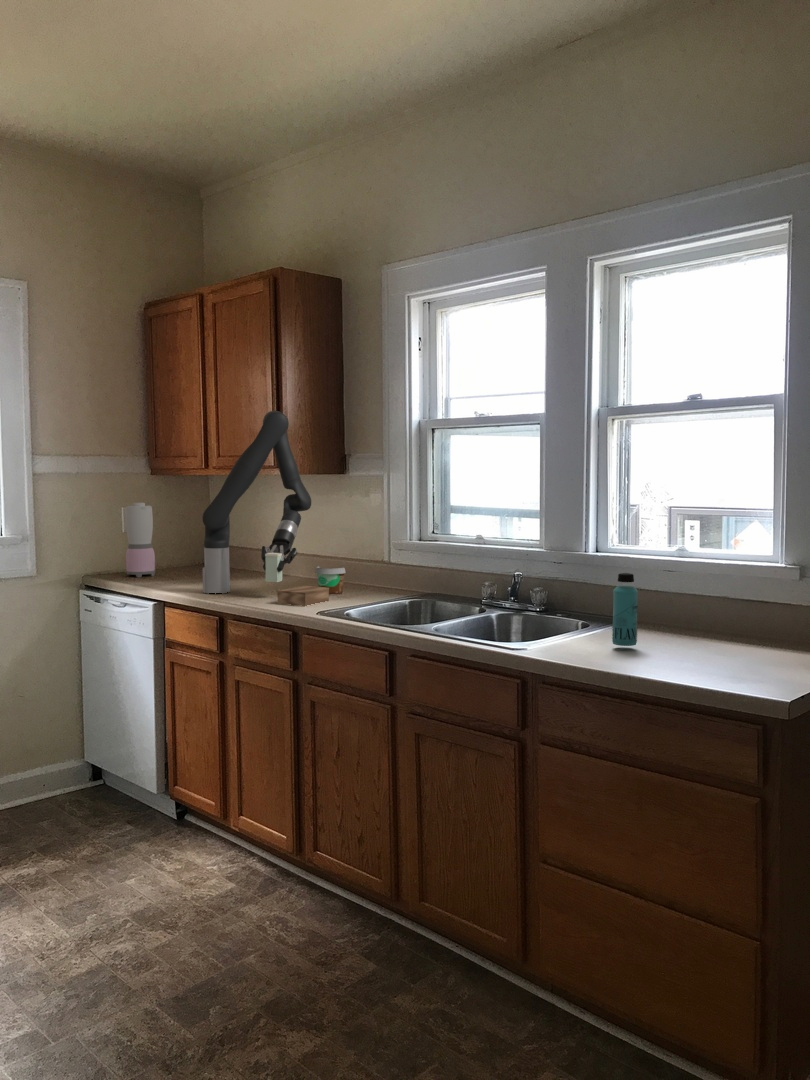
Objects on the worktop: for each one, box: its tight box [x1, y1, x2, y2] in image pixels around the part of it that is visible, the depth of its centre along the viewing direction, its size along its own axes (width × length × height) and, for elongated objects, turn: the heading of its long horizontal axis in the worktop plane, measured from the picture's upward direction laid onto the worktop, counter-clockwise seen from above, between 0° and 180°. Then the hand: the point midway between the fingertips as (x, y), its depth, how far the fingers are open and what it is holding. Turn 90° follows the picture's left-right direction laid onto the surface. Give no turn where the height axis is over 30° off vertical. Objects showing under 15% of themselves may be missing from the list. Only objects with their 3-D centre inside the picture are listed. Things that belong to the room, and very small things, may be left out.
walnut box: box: [276, 585, 330, 607], centre depth 312 cm, size 12×14×5 cm
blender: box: [125, 502, 156, 578], centre depth 389 cm, size 16×12×32 cm
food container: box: [315, 566, 347, 595], centre depth 331 cm, size 12×6×10 cm, turn 62°
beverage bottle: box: [611, 572, 639, 647], centre depth 231 cm, size 6×7×20 cm
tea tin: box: [264, 552, 283, 583], centre depth 322 cm, size 5×5×10 cm
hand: (271, 570), depth 320 cm, fingers closed on tea tin, 4 cm apart
